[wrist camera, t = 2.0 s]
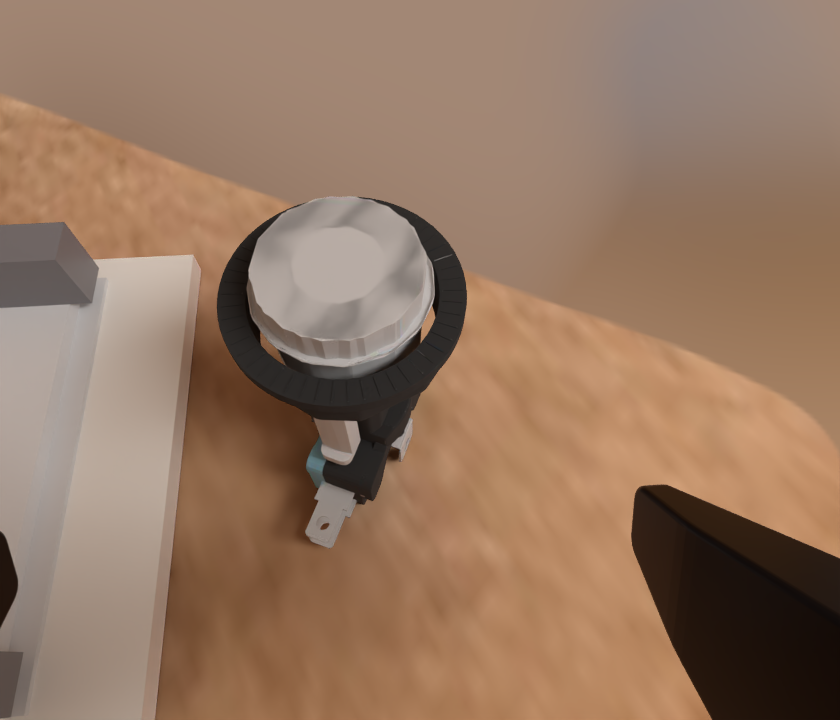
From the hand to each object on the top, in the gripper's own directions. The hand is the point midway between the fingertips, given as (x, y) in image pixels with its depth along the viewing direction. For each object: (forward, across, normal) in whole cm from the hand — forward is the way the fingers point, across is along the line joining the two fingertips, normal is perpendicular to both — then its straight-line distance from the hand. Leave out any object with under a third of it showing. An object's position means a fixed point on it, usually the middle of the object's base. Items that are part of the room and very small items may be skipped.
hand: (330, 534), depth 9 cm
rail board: (+11, +12, +4) cm, 17 cm away
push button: (+11, 0, +4) cm, 12 cm away
